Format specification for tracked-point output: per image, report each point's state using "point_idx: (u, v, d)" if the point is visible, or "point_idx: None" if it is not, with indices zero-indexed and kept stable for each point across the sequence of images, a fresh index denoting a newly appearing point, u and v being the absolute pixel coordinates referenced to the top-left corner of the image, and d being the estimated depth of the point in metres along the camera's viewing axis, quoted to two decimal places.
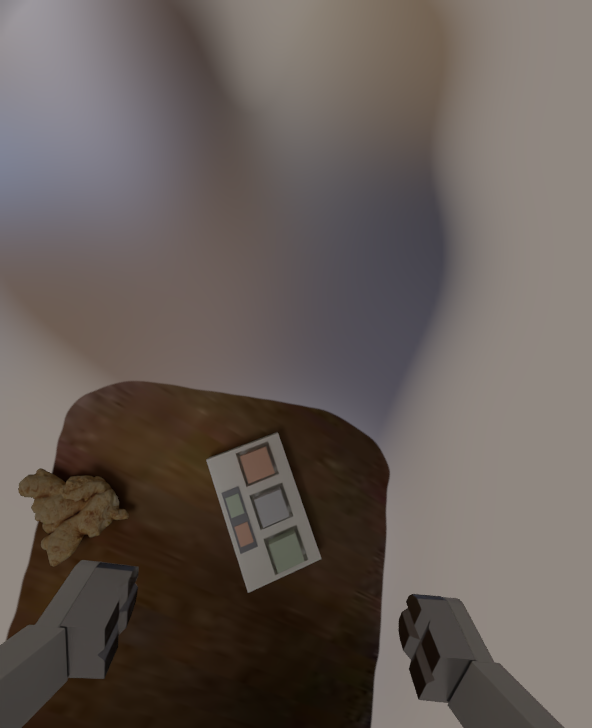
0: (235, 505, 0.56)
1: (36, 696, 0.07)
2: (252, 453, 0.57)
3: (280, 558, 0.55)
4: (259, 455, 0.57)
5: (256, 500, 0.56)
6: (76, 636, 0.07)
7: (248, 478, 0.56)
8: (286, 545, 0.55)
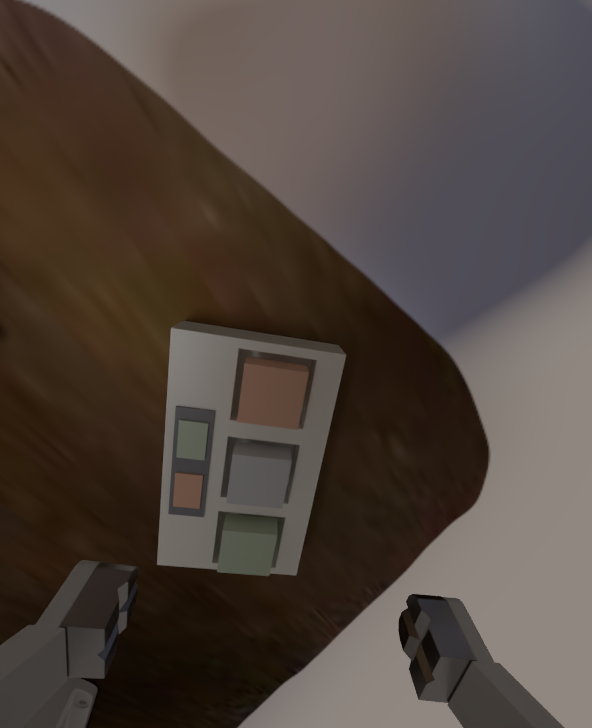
0: (193, 440, 0.27)
1: (36, 696, 0.07)
2: (274, 370, 0.24)
3: (231, 555, 0.29)
4: (286, 381, 0.24)
5: (236, 456, 0.26)
6: (76, 636, 0.07)
7: (241, 412, 0.25)
8: (252, 544, 0.29)
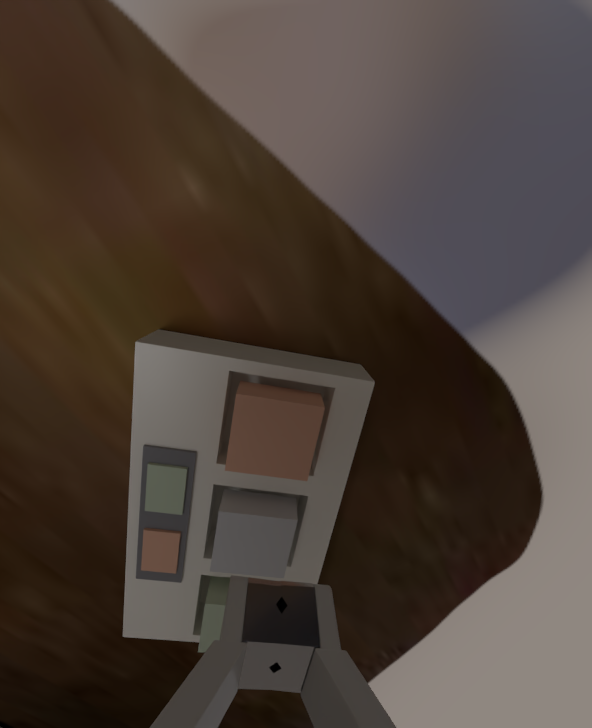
0: (167, 490, 0.20)
1: (223, 707, 0.07)
2: (277, 404, 0.17)
3: (216, 633, 0.23)
4: (294, 418, 0.18)
5: (224, 514, 0.19)
6: (254, 650, 0.07)
7: (230, 458, 0.18)
8: None
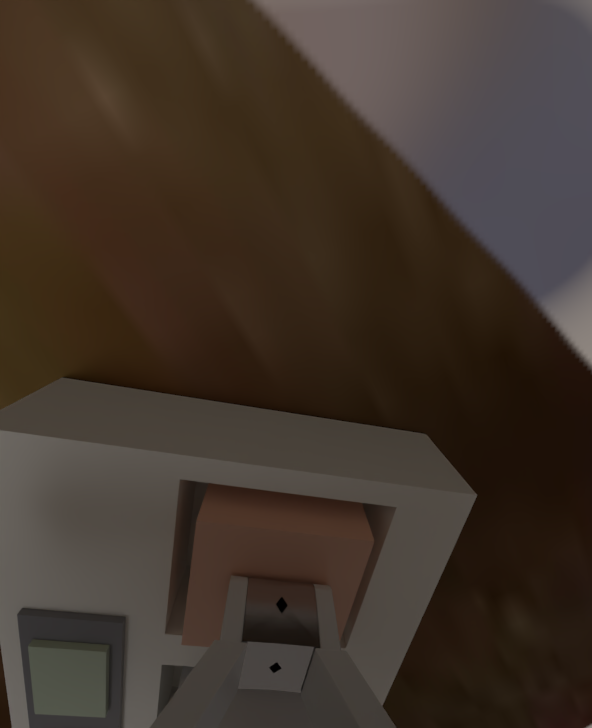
0: (72, 684, 0.11)
1: (223, 707, 0.07)
2: (279, 537, 0.09)
3: None
4: (313, 561, 0.09)
5: None
6: (254, 650, 0.07)
7: (191, 626, 0.10)
8: None
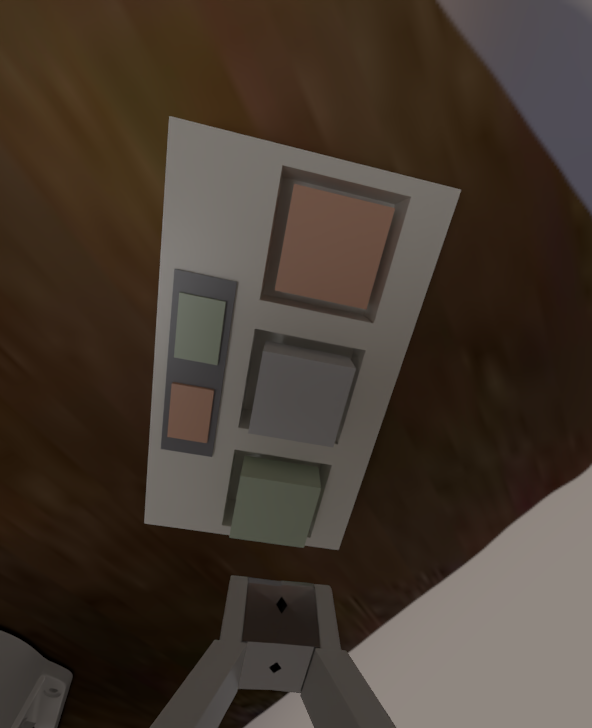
0: (201, 330, 0.17)
1: (223, 707, 0.07)
2: (340, 200, 0.15)
3: (251, 514, 0.20)
4: (358, 222, 0.15)
5: (269, 356, 0.16)
6: (254, 650, 0.07)
7: (282, 274, 0.16)
8: (283, 500, 0.19)
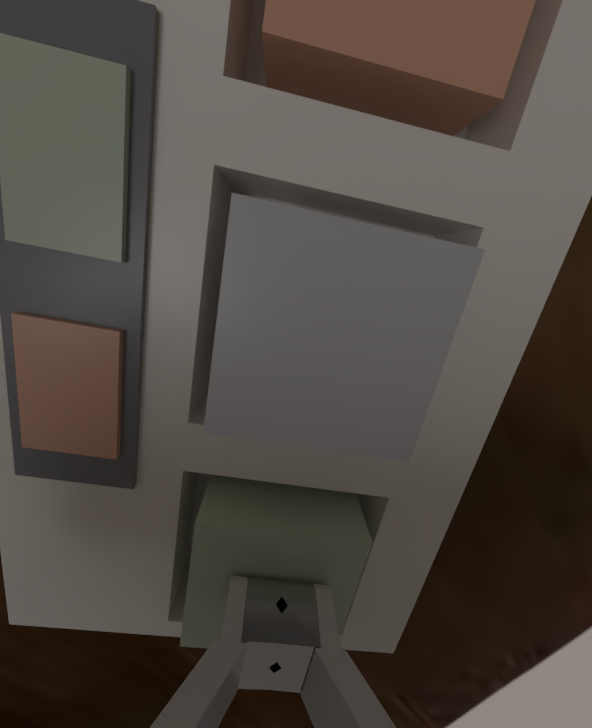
0: (67, 159, 0.06)
1: (223, 707, 0.07)
2: None
3: (224, 600, 0.09)
4: None
5: (250, 210, 0.06)
6: (254, 650, 0.07)
7: None
8: (290, 569, 0.09)
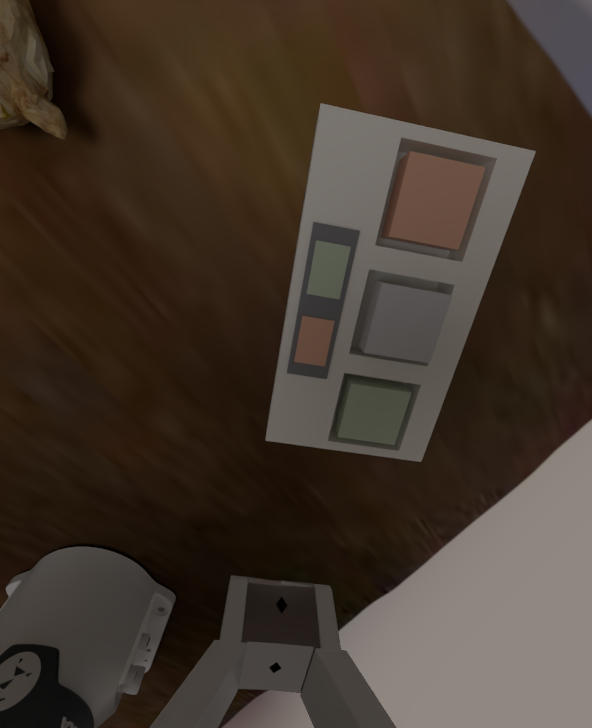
0: (329, 271, 0.22)
1: (223, 707, 0.07)
2: (444, 163, 0.20)
3: (356, 416, 0.26)
4: (457, 179, 0.20)
5: (386, 287, 0.21)
6: (254, 650, 0.07)
7: (395, 223, 0.21)
8: (381, 403, 0.25)
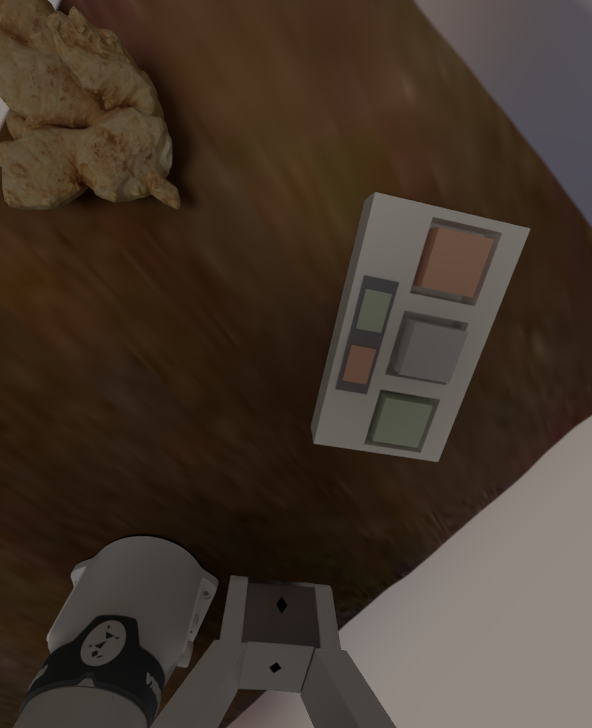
0: (375, 311, 0.28)
1: (223, 707, 0.07)
2: (464, 235, 0.26)
3: (388, 424, 0.32)
4: (473, 247, 0.27)
5: (419, 325, 0.28)
6: (254, 650, 0.07)
7: (426, 277, 0.27)
8: (409, 414, 0.32)
